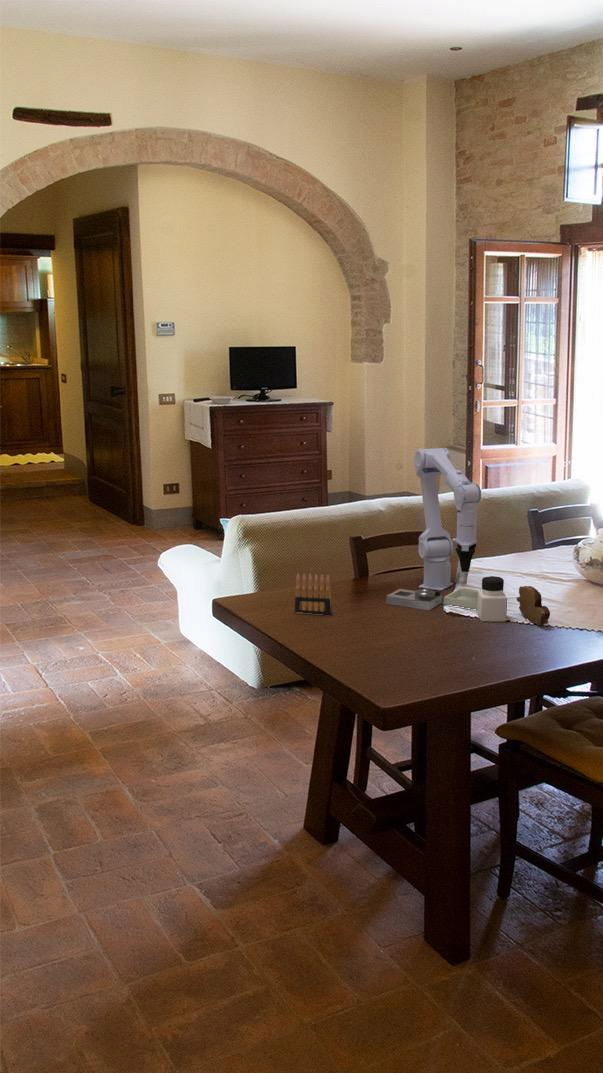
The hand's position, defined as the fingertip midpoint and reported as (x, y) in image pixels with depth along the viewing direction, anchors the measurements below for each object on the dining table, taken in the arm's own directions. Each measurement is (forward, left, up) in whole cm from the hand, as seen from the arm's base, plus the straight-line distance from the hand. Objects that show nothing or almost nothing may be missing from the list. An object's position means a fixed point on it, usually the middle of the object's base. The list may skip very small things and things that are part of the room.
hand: (465, 569), depth 293 cm
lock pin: (+1, -1, -4) cm, 4 cm away
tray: (-1, +1, -10) cm, 10 cm away
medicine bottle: (+10, +12, -11) cm, 19 cm away
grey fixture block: (+7, -13, -10) cm, 18 cm away
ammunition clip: (+32, -34, -11) cm, 48 cm away
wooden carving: (+7, +23, -11) cm, 27 cm away
